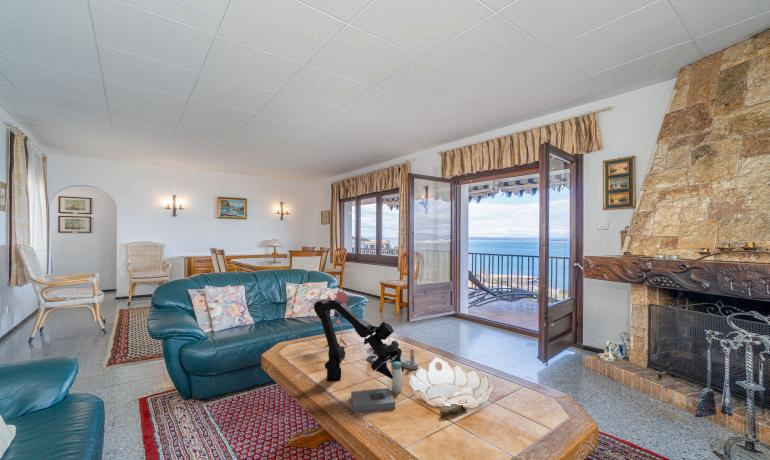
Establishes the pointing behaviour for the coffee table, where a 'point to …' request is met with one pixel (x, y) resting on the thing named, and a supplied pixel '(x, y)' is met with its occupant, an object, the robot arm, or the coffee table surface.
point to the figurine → (344, 299)
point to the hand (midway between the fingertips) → (397, 374)
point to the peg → (396, 377)
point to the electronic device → (409, 361)
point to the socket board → (364, 402)
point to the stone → (450, 409)
